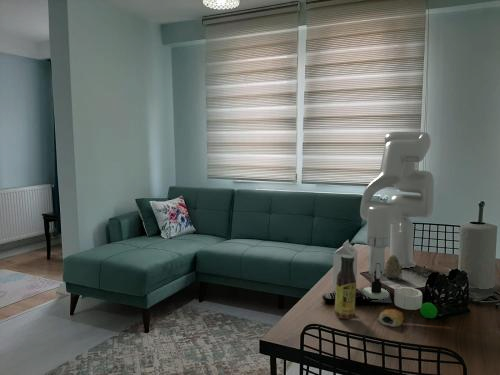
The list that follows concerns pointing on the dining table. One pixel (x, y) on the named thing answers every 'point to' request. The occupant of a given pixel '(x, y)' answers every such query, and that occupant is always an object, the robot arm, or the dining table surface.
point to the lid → (379, 296)
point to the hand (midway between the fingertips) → (375, 289)
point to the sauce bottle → (345, 289)
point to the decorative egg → (392, 267)
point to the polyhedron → (428, 310)
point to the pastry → (391, 317)
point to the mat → (380, 300)
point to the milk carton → (344, 250)
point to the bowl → (408, 298)
